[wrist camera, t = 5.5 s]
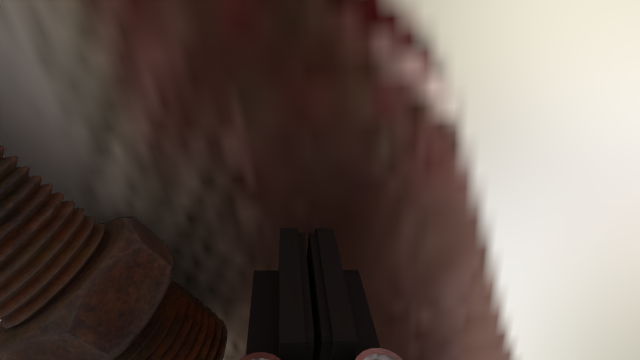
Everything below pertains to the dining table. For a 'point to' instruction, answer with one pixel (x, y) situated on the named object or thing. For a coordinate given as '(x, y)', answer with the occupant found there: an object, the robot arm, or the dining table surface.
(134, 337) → the bolt
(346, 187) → the dining table surface
